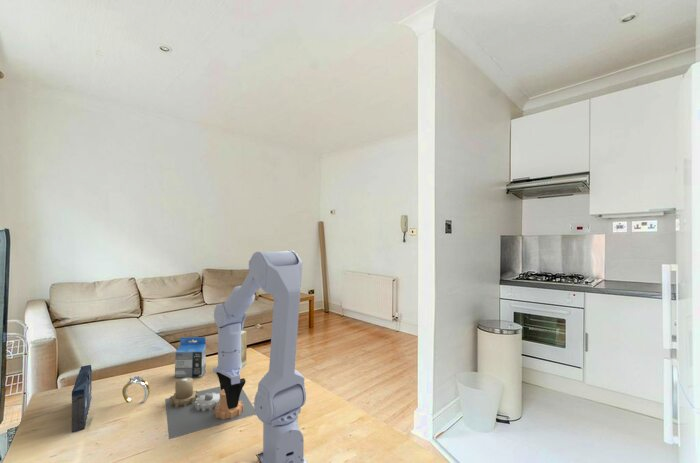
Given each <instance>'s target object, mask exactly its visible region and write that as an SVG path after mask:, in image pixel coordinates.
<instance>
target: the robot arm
mask: <svg viewBox="0 0 700 463" xmlns="http://www.w3.org/2000/svg"><path fill="white" fill-rule="evenodd" d="M302 273H303V261H302V260H301V258H300V256H299V255H298V253H297V252H296V251H294V250H291V249H290V250H283V251H281V250H280V251H278V250H277V251H256V252H254V253H252V255H251V257H250V260H248V273H247V274H246V277H245V278H244V280H243V282H242V284H241V285H236V286H234V288H233V290H232V291H231V293H230V294H229V296H228V297H227V298H226V300H225V301H224V303H217V304H216V305H215V307H214V311H213V319H214V323H215V325H216V326H217V366H214V367H212V372H213V373H215V374H216V376H217V378H218V381H219V387H221V390H222V389H224V391H225V394H226V401H227V406H228V409H232V408H236V407H237V405H238V402H239V397H240V393H241V390H242V389H244V386H245V385H246V378H245V377H242V378H241V371H242V368H243V367H242V364H241V331H244V330H243V329H244V326H245V325H244V324H245V321H246V318H247V313H246V312H247V311H248V309H249V308H250V307H251V305H252V304H254V302H255V299H256V298H255V297H256V296H255V293H257V291H258V290H259V289H260V288H261V289H262V290H263V292H264V293H265V294H268V295H271V296H272V298H273V307H272V309H273V310H272V322H271V323H272V325H271V336H270V337H271V338H270V349H269V350H270V351H269V364H268V365H269V366H268V371H267V372H266V373H265V374H264V376H263V377H261V379H260V380H259V382H258V384H257V392H256V394H255V396H254V401H253V407H254V409H255V412H256V414H255V415H256V417H257V418H258V420H260V421H261V422H262V423H263V424H262V427H263V428H262V432H263V434H262V436H263V437H262V442H263V443H262V452H260V453H257V457H258V459H259V460H260V462H261V463H308V461H307V460H306V458H305V457H304V444H305V442H304V435H303V433H302V430H301V429H300V427H299V423H298V422H299V414H301V409H302V407H303V406H304V405H305V403H306V401H307V391H306V386H305V377H304V375H303V374H302V373H301V372H300V371H298V370H297V369H296V359H297V358H296V356H297V344H298V343H297V342H298V341H297V340H298V331H299V329H298V328H299V319H300V318H299V316H300V315H299V313H300V304H301V303H300V302H301V287H302V277H303V276H302V275H303V274H302Z"/></svg>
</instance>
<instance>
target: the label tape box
mask: <svg viewBox="0 0 700 463" xmlns="http://www.w3.org/2000/svg"><path fill="white" fill-rule="evenodd" d="M191 341H193V342H191ZM206 342H207V341H206V336H197V337H196V336H194V337H193V336H191V337H190V336H187V337H179V343H180V344H179V345H178V347H177V349H176V350H175V355H174V356H175V357H174V358H175V359H174V360H175V361H174V379H177V378H201V377H203V376H204V375H205V374H206V365H207V364H206V363H207V362H206V359H207V358H206V357H207V356H206V355H207V353H206V350H207V344H206Z"/></svg>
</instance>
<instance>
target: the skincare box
mask: <svg viewBox="0 0 700 463" xmlns="http://www.w3.org/2000/svg"><path fill="white" fill-rule="evenodd" d="M247 333H248V332H247V330H241V364H242V368H243V367H245V366H246V365H247V345H248V344H247V341H248V340H247V338H248V337H247V336H248V334H247Z"/></svg>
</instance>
